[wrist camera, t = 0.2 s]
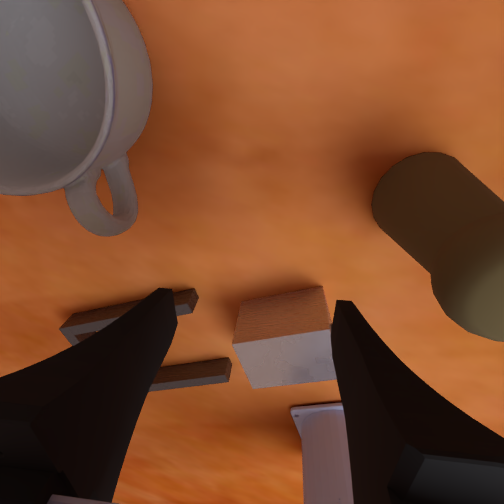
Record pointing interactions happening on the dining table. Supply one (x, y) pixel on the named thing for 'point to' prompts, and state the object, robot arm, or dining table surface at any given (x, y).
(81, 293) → the dining table surface
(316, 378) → the block
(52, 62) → the teacup
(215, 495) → the dining table surface
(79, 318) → the channel bracket
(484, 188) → the olive pawn piece
